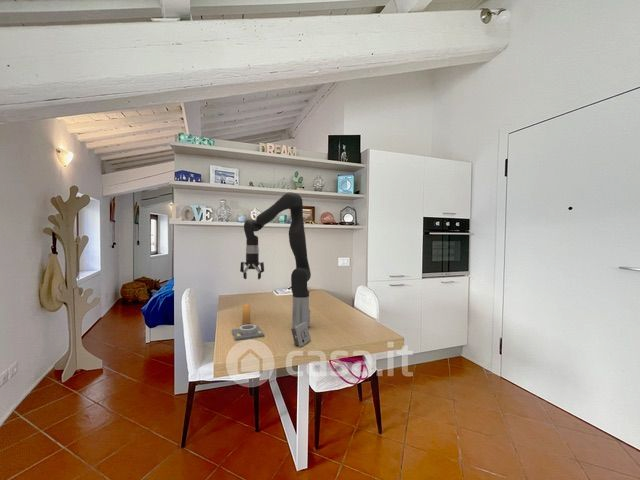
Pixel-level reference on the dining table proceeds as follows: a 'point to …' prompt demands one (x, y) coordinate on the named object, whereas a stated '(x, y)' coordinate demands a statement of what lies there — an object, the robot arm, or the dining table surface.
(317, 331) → the dining table surface
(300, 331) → the electrical switch
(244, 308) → the wire nut
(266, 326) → the dining table surface
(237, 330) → the grey square mounting plate
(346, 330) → the dining table surface
